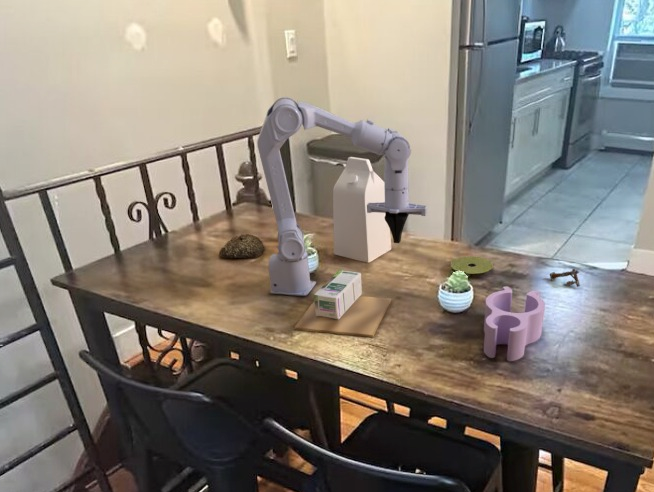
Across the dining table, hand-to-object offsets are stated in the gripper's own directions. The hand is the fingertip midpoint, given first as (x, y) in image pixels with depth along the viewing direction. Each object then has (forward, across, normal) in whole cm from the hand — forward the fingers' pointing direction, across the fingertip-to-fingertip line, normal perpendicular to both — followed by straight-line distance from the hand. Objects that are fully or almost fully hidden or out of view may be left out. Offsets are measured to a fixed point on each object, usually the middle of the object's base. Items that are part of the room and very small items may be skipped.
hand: (397, 241), depth 149 cm
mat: (+11, +18, +9) cm, 23 cm away
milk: (+11, -14, +17) cm, 24 cm away
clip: (+11, +30, -24) cm, 40 cm away
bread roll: (+11, -48, +11) cm, 50 cm away
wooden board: (+10, -8, -21) cm, 25 cm away
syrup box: (+7, -9, -10) cm, 16 cm away
